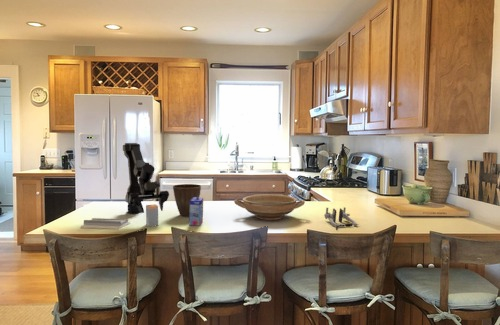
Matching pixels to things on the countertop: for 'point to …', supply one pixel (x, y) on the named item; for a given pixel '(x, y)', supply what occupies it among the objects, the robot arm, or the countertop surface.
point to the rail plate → (105, 223)
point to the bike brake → (341, 215)
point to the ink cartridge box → (196, 211)
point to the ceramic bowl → (269, 205)
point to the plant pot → (185, 197)
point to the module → (151, 215)
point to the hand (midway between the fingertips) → (152, 211)
